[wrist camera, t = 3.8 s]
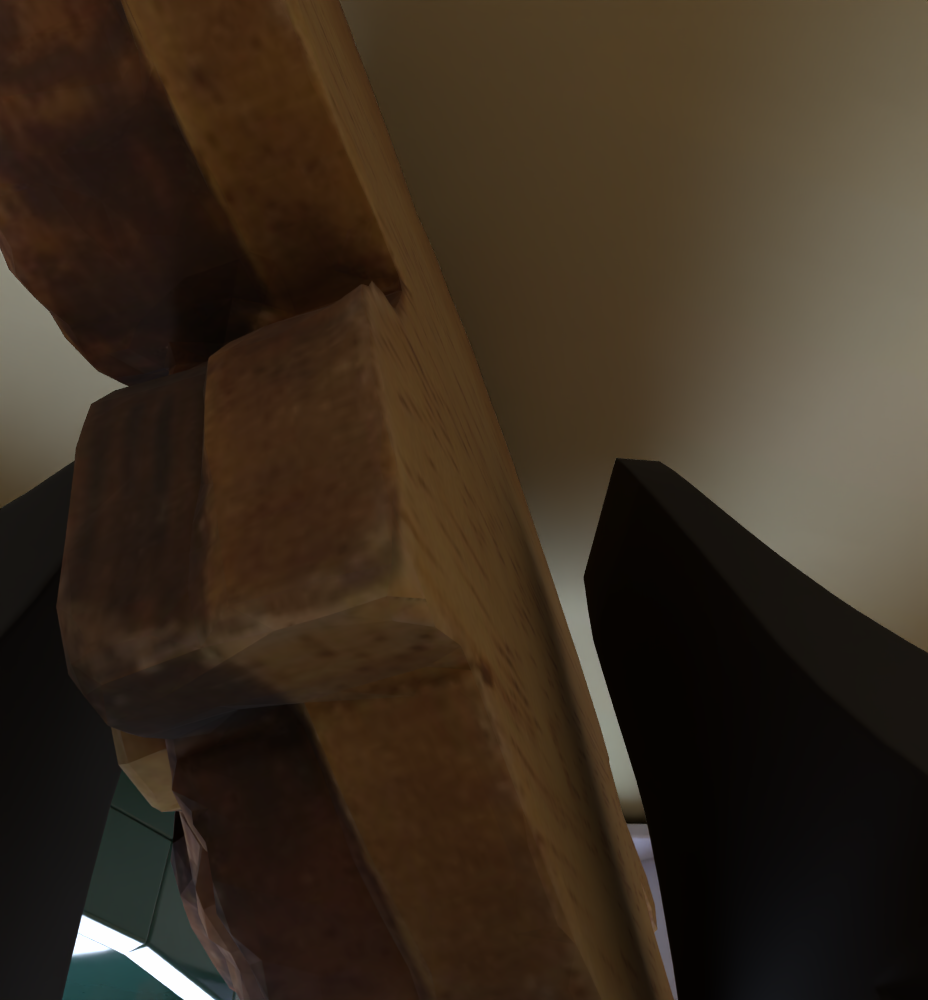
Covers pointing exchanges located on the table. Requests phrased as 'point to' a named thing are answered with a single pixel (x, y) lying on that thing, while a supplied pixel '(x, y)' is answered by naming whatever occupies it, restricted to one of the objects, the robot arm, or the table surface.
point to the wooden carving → (304, 524)
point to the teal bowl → (138, 916)
